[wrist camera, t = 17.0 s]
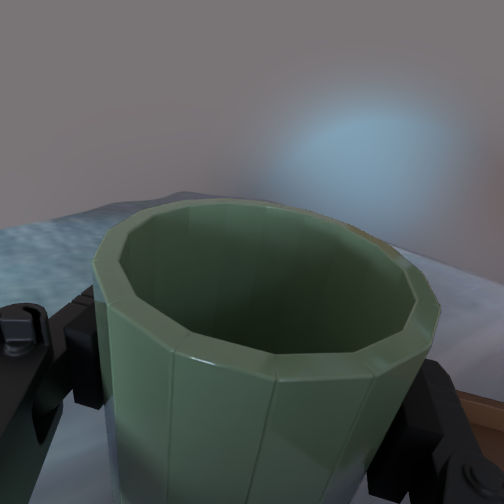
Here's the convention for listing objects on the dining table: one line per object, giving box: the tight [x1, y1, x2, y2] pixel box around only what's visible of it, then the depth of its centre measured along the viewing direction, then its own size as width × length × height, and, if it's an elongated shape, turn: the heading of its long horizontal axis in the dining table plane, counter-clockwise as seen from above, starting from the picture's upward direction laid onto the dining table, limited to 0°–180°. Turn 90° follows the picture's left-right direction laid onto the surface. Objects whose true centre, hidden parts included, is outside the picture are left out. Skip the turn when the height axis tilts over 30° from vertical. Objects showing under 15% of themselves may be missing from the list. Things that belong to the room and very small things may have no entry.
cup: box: [91, 198, 441, 504], centre depth 10 cm, size 7×7×10 cm
